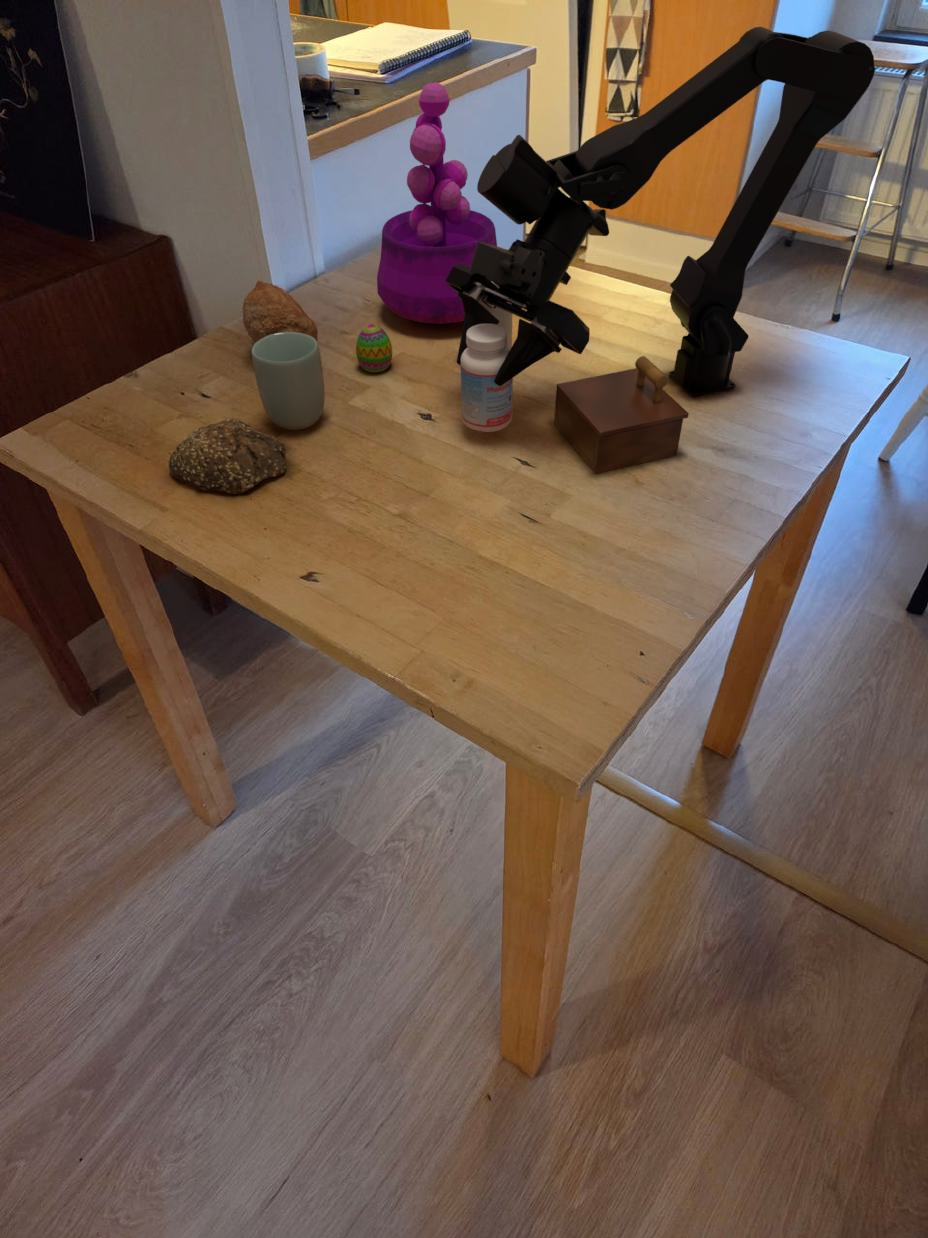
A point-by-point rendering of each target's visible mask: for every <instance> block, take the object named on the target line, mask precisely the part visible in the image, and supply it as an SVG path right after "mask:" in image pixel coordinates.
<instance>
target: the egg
mask: <svg viewBox="0 0 928 1238" xmlns="http://www.w3.org/2000/svg"><path fill="white" fill-rule="evenodd" d="M355 355H356V358H357V361H358V363H359V365H360V366H361V368H362V369H363V370H364V371H366V372H367V373H372V374H373V373H374V374H375V373H382V372H384V371H386V370H387V369H388V368H389V366H390V364H391V362H392V360H393V346H392V341H391V339H390V338H389V335H388V334H387V332H386V331H385V330H384V329H383V328H382V327H381V326H380V325H378V324H374V323H370V324H367V325H365V326H364V328H362V330H361V331H360V332H359V335H358V337H357V339H356V343H355Z"/></svg>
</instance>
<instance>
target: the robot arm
mask: <svg viewBox="0 0 928 1238" xmlns="http://www.w3.org/2000/svg"><path fill="white" fill-rule="evenodd" d="M874 57H875V56H874V54H873V51H872V49H871V48H870V46H868V45H867V44H866V43H865V42H863V41H859V40H858V39H854V38H851V37H850V36H847V35H844V34H842V33H839V32H836V31H833V30H829V29H828V30H823V31H819V32H817V33H816V34H814V35H811V36H808V37H806V36H802V35H797V34H794V33H793V34H792V33H786V32H779V31H773V30H771V29H769V28H766V27H764V26H755V27H753V28H751V29H749V30H747V31H745V33H744V34H743V35H742V36H741V37H740V38H739V39H738V41H736V43H734V44H733V45H732V46H731V47H729V48H728V49H727V50H726V51H724V52H723V53H721V54H720V55H719V56H717V57H716V58H715V59H714V60H713V61H711V62H709V63H708V64H707V65H706V66H705V67H703V68H702V69H701V70H699V71H698V72H697V73H695V74H694V75H693V76H692V77H691V78H689V79H687V81H685V82H684V83H683V84H681V85H680V86H679V87H677V88H676V89H674V90H673V91H672V92H671V93H670V94H668V95H667V96H666V97H664V98H663V99H662V100H660V101H659V102H658V103H656V104H655V105H654V106H653V107H651V108H650V109H649V110H648V111H646V112H645V113H643V114H641V115H640V116H638V117H636V118H634V119H629V120H628V121H624V122H621V123H618V124H615V125H612V126H611V127H608V128H607V129H605V130H603V131H602V132H600V133H598V134H596V135H594V136H592V137H590V138H589V139H587V140H585V141H584V142H583V143H582V144H581V145H580V146H579V147H578V149H577V150H574V151H571V152H569V153H566V154H564V155H560V156H557V157H554V158H551V159H547V160H545V159H544V158H543V157H542V156H541V155H540V154H538V152H536V150H534V148H533V146H532V145H531V144H530V143H529V142H528V141H527V139H525V138H524V137H523V136H522V135H521V134H517V135H516V136H515V137H514V138H513V140H512V141H511V143H508V144H506V145H505V146H503V147H502V148H501V149H500V150H499V151H497V153H496V154H493V155H491V156H490V158H489V160H488V161H487V162H486V164H485V166H484V167H483V169H482V171H481V173H480V176H479V178H478V181H477V187H476V191H477V193H479V194H480V195H481V196H482V197H484V198H485V199H486V200H487V201H488V202H489V203H491V204H492V205H493V206H494V207H495V208H496V209H498V210H499V211H500V212H502V213H503V214H504V215H505V216H506V217H508V218H509V219H510V220H512V222H513V223H515V224H516V225H523V224H525V223H527V224H528V225H531V224H533V226H532V227H531V229H530V230H529V233H528V234H527V236H526V238H525V239H524V240H520V239H519V238H516V239H515V240H514V241H513V242H512V243H511V245H510V246H509V248H508V249H506V248H503V247H501V246H498V245H497V246H493V245H490V244H486V243H482V242H477V245H476V248H475V252H474V255H473V259H472V262H471V266H470V267H469V266H467V265H464V264H462V263H461V264H458V265H456V266H453V268H452V269H451V271H450V273H449V275H448V277H447V278H446V280H445V282H446V283H447V284H448V285H449V286H450V287H451V288H452V289H454V290H455V291H456V292H457V293H458V297H459V298H460V299H461V300H462V303H463V307H464V313H465V315H464V321H463V326H462V331H461V337H460V342H459V346H458V352H457V357H456V364H457V365H458V366H460V367H461V356H462V353H463V352H464V350H465V349H466V348H468V347H467V344H466V333H467V330H468V329H469V328H471V327H472V326H475V325H478V324H496V325H498V323H499V322H500V321H499V320H498V319H497V318H496V317H494V316H493V315H492V314H491V313H492V312H493V310H494V309H495V308H496V307H498V308H501V309H503V310H505V311H507V312H509V313H512V315H513V316H517V317H518V318H519V319H518V325H517V337H516V338H515V340H514V342H513V343H512V347H511V349H510V351H509V353H508V355H507V356H506V358H505V360H504V362H503V364H502V365H501V367H500V369H499V371H498V373H497V376H496V378H495V380H494V382H495V383H496V384H497V385H498V386H502V385H503V384H505V383H506V382H508V381H509V380H510V379H512V378H513V379H514V378H515V377H516V376H518V375H519V374H521V373H522V372H523V371H525V370H526V369H527V368H529V367H530V366H532V365H533V364H535V363H538V361H540V360H542V359H544V358H545V357H547V356H549V355H551V354H553V353H557V354H559V353H561V351H562V348H561V347H560V346H562V347H563V348H565V349H566V350H569V351H571V352H574V353H576V354H577V355H582V354H583V352H584V350H585V349H586V347H587V345H588V343H589V342H590V334H591V333H590V331H591V329H590V327H589V326H588V325H587V324H586V323H585V322H584V321H583V320H582V318H580V317H579V316H578V314H576V313H575V312H574V310H573V309H571V308H568V307H566V306H563V305H561V304H559V303H556V302H555V301H552V300H551V299H552V297H553V296H554V293H555V292H556V290H557V288H558V287H559V285H560V284H562V285H564V286H567V285H568V283H569V282H570V280H571V279H572V276H571V275H570V274H569V273H568V272H567V271H568V269H569V267H570V266H571V264H572V262H573V260H574V259H575V257H576V255H577V254H578V252H579V250H580V249H581V247H582V245H583V243H584V242H585V240H586V238H587V236H588V235H589V236H594V237H595V236H597V237H608V236H609V234H610V229H609V224H608V221H607V211H606V210H611V211H612V210H616V209H618V208H621V207H622V206H624V205H626V204H627V203H628V202H629V201H630V200H631V199H632V198H633V197H634V196H635V195H636V194H637V193H638V192H639V191H640V190H641V189H642V188H643V187H644V186H645V185H646V184H647V183H648V182H649V181H650V180H651V178H652V176H653V175H654V173H655V172H656V170H657V168H658V167H659V165H660V163H662V161H663V160H664V159H665V158H666V157H667V156H668V155H669V154H670V153H671V152H672V151H674V150H675V149H676V148H677V147H679V146H681V145H682V144H683V143H684V142H686V141H687V140H688V139H690V138H691V137H693V136H694V135H695V134H696V133H698V132H699V131H700V130H702V129H703V128H704V127H706V126H707V125H709V124H710V123H711V122H712V121H713V120H715V119H716V118H718V117H719V116H720V115H722V114H723V113H724V112H726V111H727V110H728V109H730V108H731V107H733V106H734V105H735V104H736V103H738V102H739V101H740V100H741V99H743V98H744V97H745V96H747V95H749V94H750V93H751V92H753V91H754V90H755V89H756V88H758V87H759V86H760V85H762V84H763V83H764V82H766V81H768V80H769V81H772V82H778V83H782V84H783V89H782V94H781V101H780V102H781V103H780V109H779V116H778V119H777V123H776V125H775V127H774V129H773V130H772V132H771V134H770V135H769V138H768V140H767V142H766V143H765V145H764V148H763V149H762V151H761V154H760V155H759V157H758V159H757V161H756V163H755V165H754V166H753V168H752V170H751V172H750V174H749V176H748V177H747V179H746V181H745V183H744V185H743V187H742V189H741V190H740V192H739V194H738V196H737V198H736V200H735V202H734V203H733V205H732V207H731V209H730V210H729V213H728V214H727V217H726V218H725V220H724V222H723V225H722V226H721V228H720V229H719V232H718V233H717V235H716V237H715V239H714V240H713V243H712V245H711V246H710V247H709V249H707V250H706V251H705V252H704V253H703V254H702V255H700V256H699V257H698V258H696V259H695V258H694V257H692V256H691V255H687V256H686V257H685V258H684V260H683V261H682V265H681V267H680V270H679V272H678V274H677V276H676V277H675V279H673V281H671V283H670V285H669V287H670V288H671V289H672V290H671V294H670V296H669V303H670V307H671V310H672V312H673V313H674V314H675V316H676V317H677V318H678V319H679V321H680V325H681V327H683V328H684V329H685V330H686V331H687V332H688V334H687V335H683V336H682V338H681V344H680V348H679V349H677V352H676V358H675V364H674V370H670V371H669V372H668V378H669V379H672V380H673V381H674V382H675V383H676V385H678V386H679V387H680V388H681V389H682V390H683V391H685V392H686V393H687V394H688V395H689V396H690V397H692V398H698V397H703V396H709V395H712V394H713V395H714V394H718V393H723V392H727V391H732V390H735V389H736V383H735V382H734V381H732V380H731V379H730V377H731V373H732V369H733V368H732V367H733V364H734V359H735V355H736V353H737V352H741V351H742V350H743V348H744V346H745V344H746V343H747V341H748V340H749V334H748V333H747V332H746V331H745V330H744V328H743V327H742V326H741V325H740V324H739V322H738V321H737V320H736V319H735V318H734V317H735V315H736V313H737V311H738V308H739V305H740V304H741V300H742V298H743V294H744V293H743V292H744V285H745V277H746V271H747V268H748V266H749V263H750V262H751V261H752V258H753V257H754V255H755V253H756V251H757V250H758V248H759V246H760V245H761V242H762V241H763V239H764V238H765V235H766V234H767V232H768V230H769V228H770V227H771V226H772V223H773V222H774V220H775V218H776V216H777V215H778V213H779V211H780V209H781V208H782V205H783V204H784V203H785V201H786V199H787V197H788V195H789V194H790V192H791V190H792V188H793V187H794V185H795V183H796V182H797V179H798V177H799V176H800V175H801V173H802V171H803V169H804V167H805V166H806V164H807V162H808V160H809V158H810V157H811V155H812V153H813V151H814V150H815V148H816V146H817V145H818V143H819V142H820V141H821V140H822V139H823V138H824V137H825V136H826V135H828V134H829V133H831V131H833V129H835V128H836V127H837V126H838V125H839V124H841V123H842V122H843V121H845V120H846V118H847V117H848V116H849V115H850V113H851V112H852V111H853V110H854V108H855V106H856V105H857V104H858V103H859V101H860V100H861V99H862V97H863V96H864V94H866V92H867V90H868V89H869V87H870V86H871V83H872V81H873V79H874V76H875V72H876V67H875V58H874ZM560 189H561V190H560ZM587 202H591V203H593V205H594V206H596V207H598V208H592V207H591V206H589V204H587ZM491 281H492V282H493V283H495V284H497V285H498V286H499V288H497V287H496V286H495V285H494V284H493V283H492V282H491ZM506 302H507V303H506ZM508 302H509V303H508ZM510 303H511V304H510Z"/></svg>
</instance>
